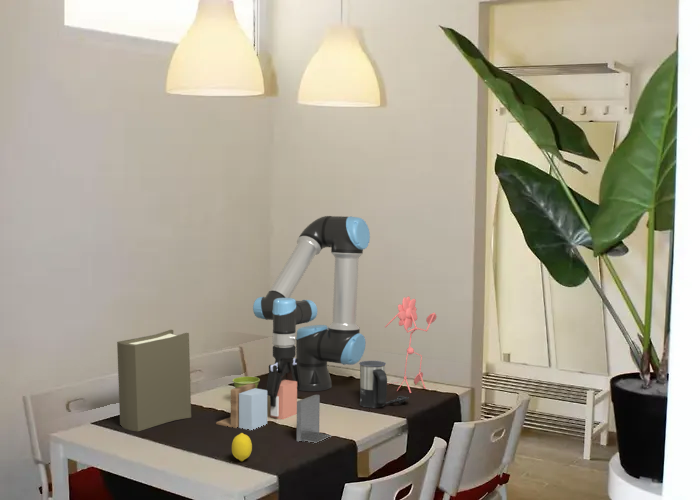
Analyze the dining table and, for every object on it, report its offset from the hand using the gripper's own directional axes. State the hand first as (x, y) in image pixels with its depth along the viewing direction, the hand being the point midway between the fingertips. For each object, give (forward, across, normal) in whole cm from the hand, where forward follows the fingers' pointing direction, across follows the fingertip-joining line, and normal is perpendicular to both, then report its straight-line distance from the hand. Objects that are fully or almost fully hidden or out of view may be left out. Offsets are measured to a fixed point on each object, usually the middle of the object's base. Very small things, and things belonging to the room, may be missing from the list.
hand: (283, 412), depth 272 cm
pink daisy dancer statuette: (+1, +55, -16) cm, 57 cm away
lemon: (+1, -43, -17) cm, 46 cm away
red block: (+1, 0, 0) cm, 1 cm away
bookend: (+1, -15, -23) cm, 27 cm away
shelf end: (+1, -15, +8) cm, 17 cm away
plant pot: (+1, +4, +19) cm, 19 cm away
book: (+1, -29, +30) cm, 42 cm away
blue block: (+1, -15, +1) cm, 15 cm away
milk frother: (+1, +30, -21) cm, 37 cm away
